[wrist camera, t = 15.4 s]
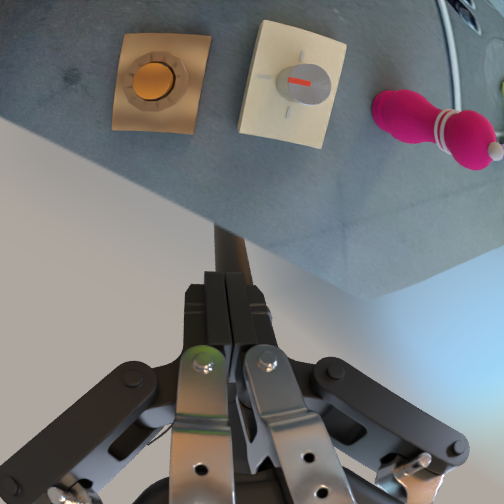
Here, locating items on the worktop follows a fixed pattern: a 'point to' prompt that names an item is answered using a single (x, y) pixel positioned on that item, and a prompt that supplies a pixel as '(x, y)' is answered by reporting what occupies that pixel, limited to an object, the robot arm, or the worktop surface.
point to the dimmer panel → (265, 90)
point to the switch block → (181, 93)
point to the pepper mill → (437, 127)
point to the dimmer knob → (304, 84)
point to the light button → (152, 81)
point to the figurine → (503, 96)
